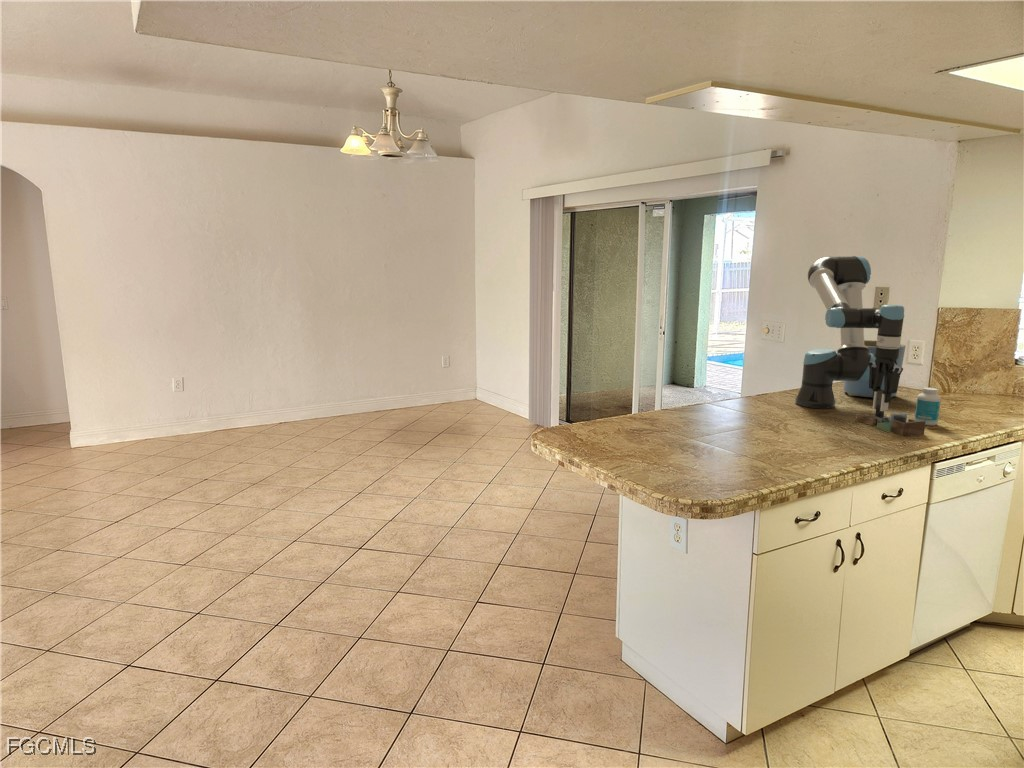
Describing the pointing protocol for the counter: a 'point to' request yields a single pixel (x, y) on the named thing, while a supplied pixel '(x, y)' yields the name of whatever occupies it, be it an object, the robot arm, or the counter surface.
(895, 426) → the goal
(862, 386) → the planter
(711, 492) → the counter surface
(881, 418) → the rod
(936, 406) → the pill bottle
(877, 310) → the robot arm
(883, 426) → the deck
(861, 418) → the guide
